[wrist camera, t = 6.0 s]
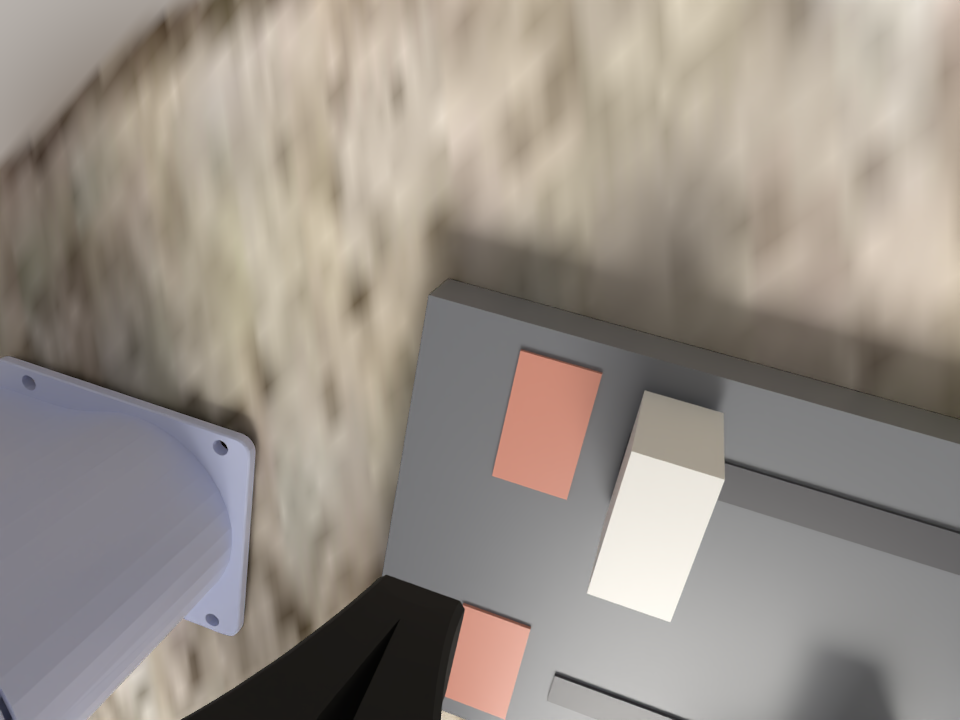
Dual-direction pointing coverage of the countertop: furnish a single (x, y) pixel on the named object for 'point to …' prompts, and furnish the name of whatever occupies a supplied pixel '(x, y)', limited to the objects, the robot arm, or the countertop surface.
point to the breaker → (660, 505)
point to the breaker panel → (724, 547)
